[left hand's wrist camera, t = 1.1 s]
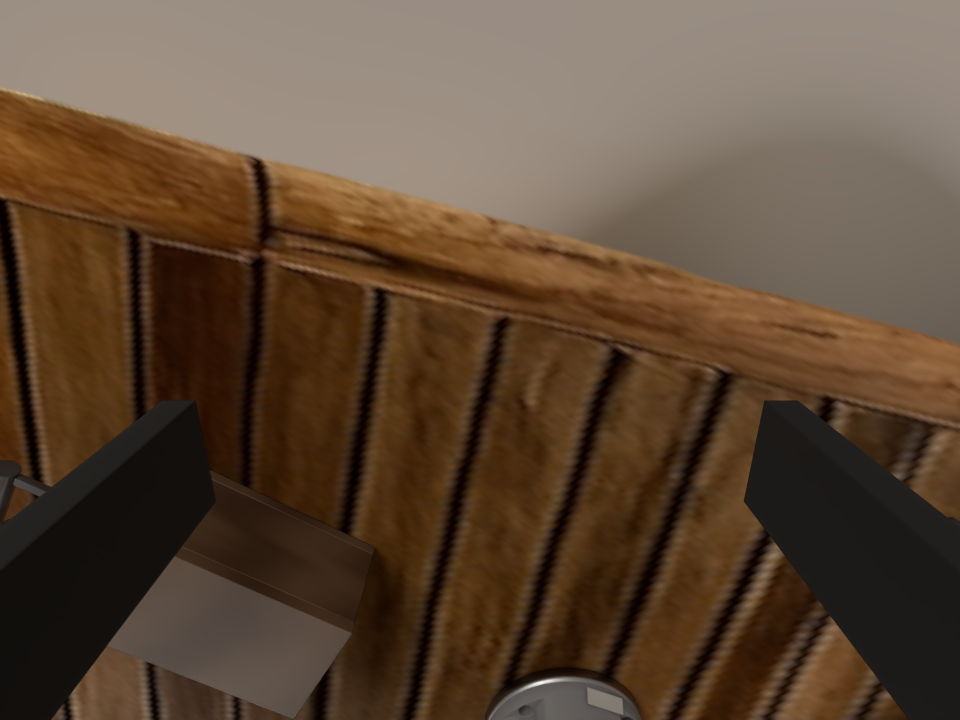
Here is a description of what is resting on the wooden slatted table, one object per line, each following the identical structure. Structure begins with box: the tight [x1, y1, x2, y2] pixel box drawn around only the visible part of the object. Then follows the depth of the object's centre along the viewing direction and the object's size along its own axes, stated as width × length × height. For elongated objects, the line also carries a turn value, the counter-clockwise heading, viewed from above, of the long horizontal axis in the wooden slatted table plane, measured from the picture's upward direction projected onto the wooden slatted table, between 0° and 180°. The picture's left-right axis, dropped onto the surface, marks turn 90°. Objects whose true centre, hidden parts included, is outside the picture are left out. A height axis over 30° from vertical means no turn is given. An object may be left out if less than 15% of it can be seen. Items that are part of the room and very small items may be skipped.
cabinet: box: [107, 470, 375, 719], centre depth 42 cm, size 18×10×9 cm, turn 59°
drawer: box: [0, 460, 51, 523], centre depth 41 cm, size 22×9×7 cm, turn 59°
